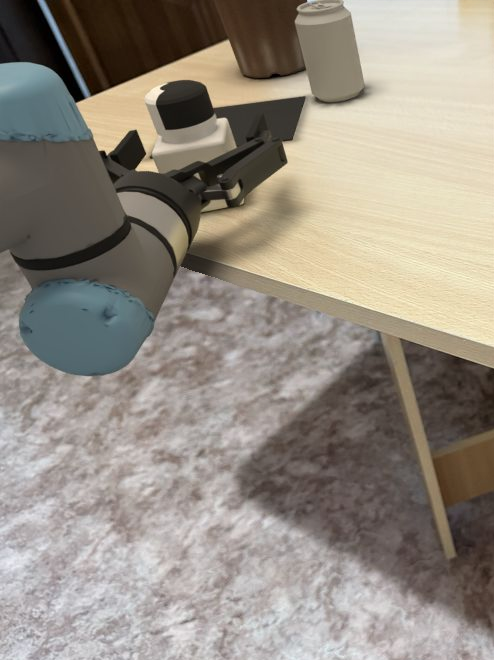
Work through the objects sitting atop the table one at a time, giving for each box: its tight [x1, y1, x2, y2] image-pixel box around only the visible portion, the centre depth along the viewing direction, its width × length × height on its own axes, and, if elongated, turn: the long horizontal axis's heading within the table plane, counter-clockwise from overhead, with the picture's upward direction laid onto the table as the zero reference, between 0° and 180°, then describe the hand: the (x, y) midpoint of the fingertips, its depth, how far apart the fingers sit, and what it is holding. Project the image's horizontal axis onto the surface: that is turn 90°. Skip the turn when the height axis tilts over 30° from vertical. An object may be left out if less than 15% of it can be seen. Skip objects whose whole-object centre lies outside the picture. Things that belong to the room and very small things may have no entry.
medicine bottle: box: [143, 79, 245, 213], centre depth 72 cm, size 7×7×12 cm
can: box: [295, 0, 365, 103], centre depth 94 cm, size 8×8×12 cm
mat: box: [148, 95, 306, 159], centre depth 92 cm, size 18×16×1 cm
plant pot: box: [213, 0, 308, 79], centre depth 107 cm, size 16×16×16 cm
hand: (200, 134), depth 74 cm, fingers open, 13 cm apart
